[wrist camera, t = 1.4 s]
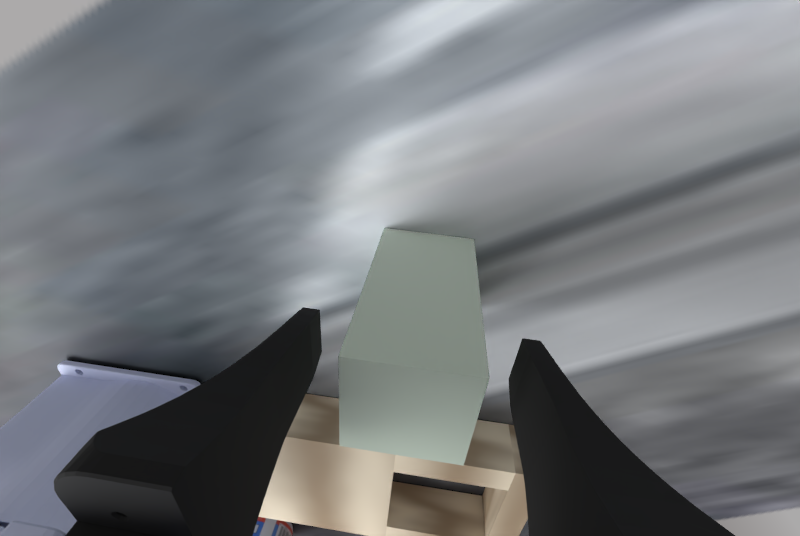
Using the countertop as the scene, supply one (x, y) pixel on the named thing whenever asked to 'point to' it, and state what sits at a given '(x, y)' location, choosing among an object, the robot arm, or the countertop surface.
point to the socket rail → (393, 483)
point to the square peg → (415, 351)
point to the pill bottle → (272, 527)
